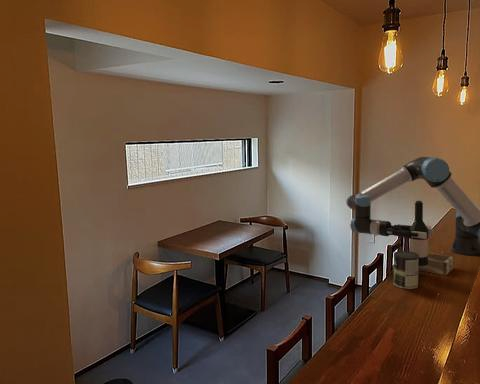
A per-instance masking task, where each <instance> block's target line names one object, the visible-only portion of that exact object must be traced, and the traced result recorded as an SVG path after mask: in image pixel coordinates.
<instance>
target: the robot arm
mask: <svg viewBox="0 0 480 384" xmlns="http://www.w3.org/2000/svg"><path fill="white" fill-rule="evenodd" d="M452 175H453V174H452V172H451V171H450V166H449V163H447V162H446V161H445V160H444V159H442V158H439V157H427V156H421V157H417V158H415V159H413V160H411V161H409V162H408V163H406V164H404V165H402V166H401V167H400V168H399V170H397V171H395V172H393V173H391V174H390V175H389V176H387V177H385V178H382V179H381V180H380V181H378V182H376V183H374V184H373V185H370V186H369V187H367V188H365V189H364V190H362V191H360V192H358V193H356V194H351V195H349V196H348V197H347V198H346V202H345V203H346V205H347V207H348V208H349V209H350V210H353V211H354V212H355V213H354V214H355V217H353V218H351V220H350V223H349V224H350V230H351V231H352V232H353V233H359V234H365V235H374V236H375V237H376V236H380V237H381V236H383V237H390V236H395V237H401V238H404V239H405V238H406V239H407V238H408V240H409V239H411V237H415V238H423V239H427V233H425V232H416V231H411V232H410V231H409V229H410V227H411V226H412V225H408V224H407V225H406V224H394V225H392V222H391V221H390V220H382V219H381V220H379V219H371V211H372V209H371V205H372V202H374V201H375V200H378V199H379V198H381V197H383V196H385V195H387V194H389V193H390V192H392V191H393V190H396V189H397V188H399V187H401V186H403V185H405V184H406V183H412V182H414V181H416V180H420V179H421V180H424V181H425V182H426V183H427V184H428V185H429V187H430V188H432V189H436V190H437V191H438V192H439V193H440V194H441V196H442V197H443V198H445V200H446V201H447V202H448V204H450V206H451V207H452V208H453V209H454V210H455V211H456V214H455V225H454V226H455V230H454V231H455V233H454V239H453V241H452V244H451V246H450V249H451V250H450V251H451V252H453V253H456V254H459V255H464V256H465V255H466V256H478V255H480V209H479V207H477V206H476V204H475V203H474V202H473V201H472V200H471V199H470V197H469V196H467V194H466V193H465V192H464V190H462V188H461V187H460V186H459V185H458V184H457V182H455V180H454V179H453V178H452ZM427 228H428V235H430V236H431V235H432V236H433V235H434V228H429V227H427Z"/></svg>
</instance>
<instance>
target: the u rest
mask: <svg viewBox="0 0 480 384" xmlns="http://www.w3.org/2000/svg"><path fill="white" fill-rule="evenodd" d="M454 259H455V256H454V255H453V256H452V255H447V254H440V253H434V252H429V251H428V264H427V266H418V271H421V272H427V273H433V274H438V275H442V276H447V275H448V274H449V273H450V272H451V271H452V270H454V267H455V265H454V263H455V260H454Z"/></svg>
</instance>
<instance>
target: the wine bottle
mask: <svg viewBox="0 0 480 384" xmlns="http://www.w3.org/2000/svg"><path fill="white" fill-rule="evenodd" d="M423 211H424V203H423V201H422V200H416V201H415V202H414V221H413V223H412V224H411V225H410V226H411V227H410V229H409V231H410V232H411V231H416V232H425V233H427V239H423V238H415V237H411V239H408V244H409V245H408V251H410V252H414V253H417V254H418V255H419V261H418V267H419V266H427V264H428V252H429V234H428V228H429V227H427V225H426V223H425V221H424V220H423V219H424V214H423V213H424V212H423Z"/></svg>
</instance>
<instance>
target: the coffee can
mask: <svg viewBox="0 0 480 384" xmlns="http://www.w3.org/2000/svg"><path fill="white" fill-rule="evenodd" d="M418 261H419V255H418V254H417V253H414V252H410V251H409V250H398V251H395V252H393V283H392V284H393V286H395V287H397V288H400V289H406V290H412V289H417V288H418V287H419V266H418Z"/></svg>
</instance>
